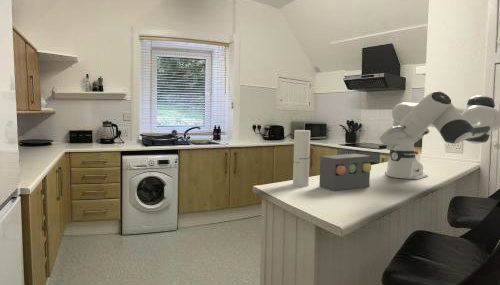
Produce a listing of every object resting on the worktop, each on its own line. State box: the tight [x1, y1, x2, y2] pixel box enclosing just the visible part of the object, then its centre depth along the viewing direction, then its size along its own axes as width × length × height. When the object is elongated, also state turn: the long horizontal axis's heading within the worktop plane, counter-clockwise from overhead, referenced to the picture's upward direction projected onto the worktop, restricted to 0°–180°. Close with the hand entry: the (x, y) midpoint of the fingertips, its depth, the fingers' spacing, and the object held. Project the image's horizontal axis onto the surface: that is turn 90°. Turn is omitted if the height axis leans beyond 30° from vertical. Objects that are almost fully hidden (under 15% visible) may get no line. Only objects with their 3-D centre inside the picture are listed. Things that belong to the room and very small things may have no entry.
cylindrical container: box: [292, 129, 311, 188], centre depth 154 cm, size 7×7×25 cm
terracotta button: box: [336, 165, 346, 175], centre depth 145 cm, size 4×3×4 cm
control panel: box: [318, 153, 372, 192], centre depth 153 cm, size 22×9×14 cm, turn 120°
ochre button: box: [362, 162, 372, 173], centre depth 153 cm, size 4×3×4 cm
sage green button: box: [349, 164, 356, 173], centre depth 150 cm, size 4×3×4 cm
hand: (389, 148), depth 142 cm, fingers closed
